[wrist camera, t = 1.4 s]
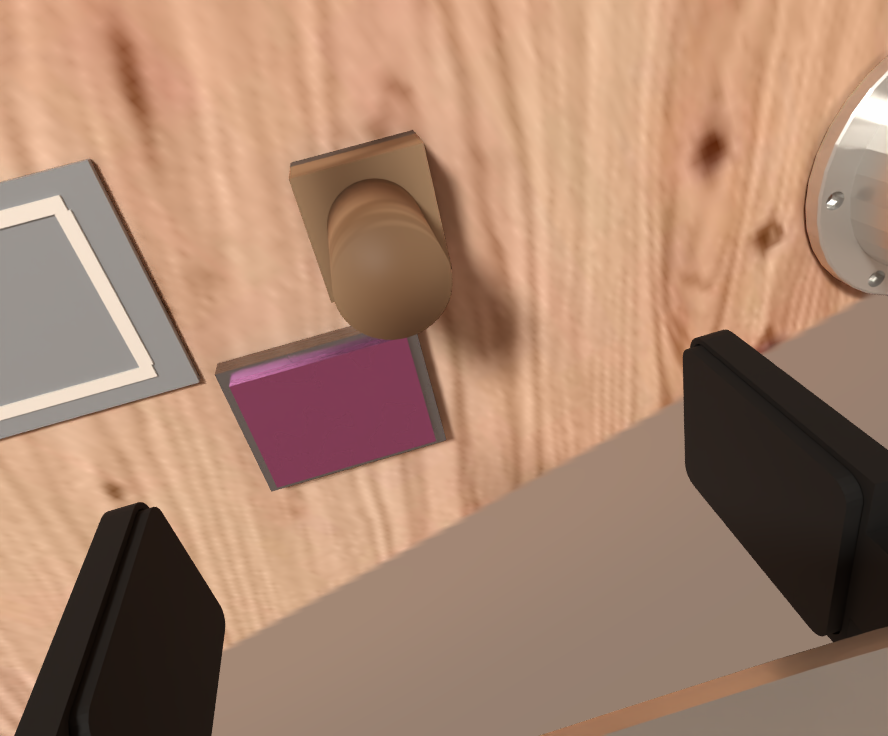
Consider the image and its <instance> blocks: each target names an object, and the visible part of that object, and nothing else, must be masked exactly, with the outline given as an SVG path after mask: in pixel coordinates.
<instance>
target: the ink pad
mask: <svg viewBox="0 0 888 736" xmlns="http://www.w3.org/2000/svg"><path fill="white" fill-rule="evenodd" d="M215 376H216V378H217V380H218V382H219V384H220V387H221V389H222V391H223V393H224V395H225V397H226V399H227V401H228V403H229V405H230V407H231V409H232V411H233V413H234V415H235V417H236V420H237V422H238V424H239V426H240V428H241V430H242V432H243V434H244V436H245V438H246V440H247V442H248V444H249V446H250V448H251V450H252V452H253V455H254V457H255V459H256V461H257V463H258V465H259V467H260V469H261V471H262V473H263V475H264V477H265V479H266V481H267V483H268V485H269V488H270V490H271V492H272V491H275V490H278V489H282V488H285V487H289V486H292V485H295V484H299V483H302V482H306V481H309V480H312V479H316V478H319V477H323V476H326V475H329V474H333V473H336V472H340V471H343V470H346V469H350V468H353V467H357V466H360V465H363V464H367V463H370V462H374V461H377V460H381V459H384V458H387V457H391V456H394V455H398V454H401V453H404V452H408V451H411V450H415V449H418V448H421V447H425V446H428V445H432V444H435V443H438V442H442V441H445V440H446V437H445V434H444V430H443V426H442V423H441V419H440V416H439V412H438V408H437V405H436V401H435V397H434V394H433V390H432V386H431V383H430V379H429V375H428V372H427V368H426V364H425V361H424V357H423V353H422V350H421V346H420V342H419V339H418V335H417V334H416V335H413V336H411V337H408V338H403V339H396V340H384V339H377V338H373V337H370V336H367V335H365V334H363V333H361V332H359V331H357V330H356V329H355V328H353V327H352V326H350V327H346V328H343V329H339V330H335V331H332V332H328V333H325V334H321V335H318V336H314V337H311V338H307V339H304V340H300V341H297V342H293V343H289V344H286V345H282V346H279V347H275V348H272V349H268V350H265V351H261V352H258V353H254V354H250V355H247V356H243V357H240V358H236V359H233V360H229V361H226V362H222V363H219V364H217V368H216V372H215Z"/></svg>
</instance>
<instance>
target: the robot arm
mask: <svg viewBox="0 0 888 736" xmlns="http://www.w3.org/2000/svg"><path fill="white" fill-rule="evenodd" d="M805 209H806V227H807V232H808V236H809V240H810V243H811V247H812V250H813V251H814V253H815V255H816V256H817V258H818V260H819V262H820V263H821V265H822V266H823V267H824V268H825V269H826V270H827V271H828V272H829V273H830V274H831V275H832V276H833V277H835V278H837V279H838V280H840V281H842V282H844V283H846V284H847V285H849V286H851V287H853V288H855V289H858V290H860V291H863V292H865V293H869V294H877V295H887V296H888V56H887V57H885V58H884V59H883V60H882V61H881V62H880V63H879V64H878V65H877V66H876V67H875V68H874V69H873V70H871V71H870V72H869V73H868V74H867V75H866V77H865V78H864V79H863V80H862V81H861V83H860V84H859V85H858V86H857V87H856V89H855V90H854V91H853V92H852V94H851V95H850V96H849V97H848V98H847V100H846V101H845V103H844V104H843V106H842V107H841V109H840V111H839V112H838V114H837V115H836V117H835V119H834V120H833V122H832V123H831V125H830V126H829V129H828V131H827V133H826V135H825V137H824V139H823V142H822V144H821V146H820V148H819V150H818V152H817V155H816V158H815V161H814V165H813V168H812V172H811V175H810V178H809V182H808V190H807V198H806V205H805ZM683 389H684V433H685V466H686V471H687V474H688V477H689V478H690V481H691V482H692V484H693V485H694V486H695V488H696V489H697V490H698V491H699V492H700V494H701V495H702V496H703V497H704V499H705V500H706V501H707V502H708V504H709V505H710V506H711V507H712V509H713V510H714V511H715V512H716V513H717V514H718V516H719V517H720V518H721V519H722V520H723V522H724V523H725V524H726V526H727V527H728V528H729V529H730V531H731V532H732V533H733V534H734V535H735V537H736V538H737V539H738V540H739V542H740V543H741V544H742V545H743V547H744V548H745V549H746V550H747V551H748V553H749V554H750V555H751V556H752V558H753V559H754V560H755V561H756V562H757V564H758V565H759V566H760V567H761V569H762V570H763V571H764V572H765V573H766V575H767V576H768V577H769V578H770V580H771V581H772V582H773V583H774V584H775V586H776V587H777V588H778V589H779V591H780V592H781V593H782V594H783V595H784V597H785V598H786V599H787V600H788V602H789V603H790V604H791V605H792V607H793V608H794V609H795V610H796V612H797V613H798V614H799V615H800V616H801V618H802V619H803V620H804V621H805V623H806V624H807V625H808V626H809V627H810V628H811V629H812V631H813V632H815V633H816V634H817V635H819V636H825V635H827V636H828V637H829V638H830V639H831V640H832V641H833V643H830V644H826V645H823V646H820V647H817V648H813V649H810V650H806V651H803V652H800V653H796V654H793V655H790V656H786V657H783V658H780V659H777V660H774V661H770V662H767V663H764V664H761V665H758V666H754V667H751V668H748V669H745V670H742V671H739V672H736V673H733V674H729V675H727V676H723V677H720V678H717V679H714V680H711V681H707V682H705V683H701V684H698V685H695V686H692V687H689V688H686V689H683V690H680V691H676V692H673V693H670V694H667V695H664V696H661V697H657V698H654V699H651V700H648V701H645V702H642V703H639V704H635V705H632V706H629V707H626V708H623V709H620V710H617V711H614V712H611V713H608V714H604V715H601V716H598V717H595V718H592V719H589V720H586V721H583V722H580V723H577V724H574V725H571V726H568V727H564V728H561V729H558V730H555V731H552V732H549V733H546V734H543V735H540V736H888V450H887V449H886V448H884V447H883V446H882V445H880V444H879V443H878V442H876V441H875V440H874V439H872V438H871V437H870V436H868V435H867V434H866V433H865V432H863V431H862V430H861V429H859V428H858V427H857V426H855V425H854V424H853V423H851V422H850V421H849V420H847V419H846V418H845V417H843V416H842V415H841V414H840V413H838V412H837V411H835V410H834V409H833V408H832V407H830V406H829V405H828V404H826V403H825V402H824V401H822V400H821V399H819V398H818V397H817V396H816V395H814V394H813V393H812V392H810V391H809V390H808V389H806V388H805V387H804V386H803V385H801V384H800V383H799V382H797V381H796V380H794V379H793V378H792V377H791V376H789V375H788V374H786V373H785V372H784V371H783V370H781V369H780V368H778V367H777V366H776V365H775V364H773V363H772V362H771V361H769V360H768V359H767V358H766V357H764V356H763V355H762V354H760V353H759V352H758V351H756V350H755V349H754V348H752V347H751V346H750V345H748V344H747V343H746V342H744V341H743V340H742V339H740V338H739V337H738V336H736V335H735V334H734V333H732V332H731V331H729V330H721V331H718V332H714V333H711V334H708V335H704V336H701V337H697V338H695V339H693V340H692V342H691V346H690V348H689V349H686V350H685V351H684V353H683ZM224 634H225V618H224V614H223V610H222V608H221V606H220V604H219V603H218V601H217V600H216V598H215V596H214V595H213V593H212V592H211V590H210V588H209V587H208V585H207V584H206V582H205V580H204V579H203V577H202V576H201V574H200V572H199V571H198V569H197V568H196V566H195V564H194V563H193V561H192V560H191V558H190V556H189V555H188V553H187V552H186V550H185V548H184V547H183V545H182V544H181V542H180V540H179V539H178V537H177V536H176V534H175V532H174V531H173V529H172V528H171V526H170V524H169V523H168V521H167V519H166V518H165V516H164V515H163V513H162V512H161V510H160V509H159V508H157V507H152V508H149V507H148V506H147V505H146V504H145V503H143V502H138V503H135V504H132V505H128V506H125V507H121V508H118V509H115V510H111V511H108V512H106V513H105V514H104V515H103V516H102V518H101V520H100V523H99V525H98V528H97V530H96V533H95V535H94V538H93V540H92V543H91V545H90V548H89V550H88V553H87V555H86V558H85V560H84V563H83V565H82V568H81V570H80V573H79V575H78V578H77V580H76V583H75V585H74V588H73V590H72V593H71V595H70V598H69V600H68V603H67V605H66V608H65V610H64V613H63V615H62V618H61V620H60V623H59V625H58V628H57V630H56V633H55V635H54V638H53V640H52V643H51V645H50V648H49V650H48V653H47V655H46V658H45V660H44V663H43V665H42V668H41V670H40V673H39V675H38V678H37V680H36V683H35V685H34V688H33V690H32V693H31V695H30V698H29V700H28V703H27V705H26V708H25V710H24V713H23V715H22V718H21V720H20V723H19V725H18V728H17V730H16V733H15V735H14V736H211V734H212V727H213V719H214V711H215V703H216V694H217V688H218V680H219V672H220V665H221V657H222V649H223V641H224Z"/></svg>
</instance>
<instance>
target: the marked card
mask: <svg viewBox="0 0 888 736" xmlns="http://www.w3.org/2000/svg"><path fill="white" fill-rule="evenodd" d="M199 382H200V377H199V375H198V373H197V371H196V369H195V367H194V365H193V363H192V361H191V359H190V357H189V355H188V353H187V351H186V349H185V347H184V345H183V343H182V341H181V339H180V337H179V335H178V333H177V331H176V329H175V327H174V325H173V323H172V321H171V319H170V317H169V315H168V313H167V311H166V309H165V307H164V305H163V303H162V301H161V299H160V297H159V295H158V293H157V291H156V289H155V287H154V285H153V283H152V281H151V279H150V277H149V275H148V273H147V271H146V269H145V267H144V265H143V263H142V261H141V260H140V258H139V256H138V254H137V252H136V250H135V248H134V246H133V244H132V242H131V240H130V238H129V236H128V234H127V232H126V230H125V228H124V226H123V224H122V222H121V220H120V218H119V216H118V214H117V212H116V210H115V208H114V206H113V204H112V202H111V200H110V198H109V196H108V194H107V192H106V190H105V188H104V186H103V184H102V182H101V180H100V178H99V176H98V174H97V172H96V170H95V168H94V166H93V164H92V162H91V160H90V159H87V160H83V161H79V162H75V163H71V164H68V165H64V166H60V167H56V168H52V169H49V170H45V171H41V172H37V173H33V174H30V175H26V176H22V177H18V178H15V179H11V180H7V181H3V182H0V439H2V438H5V437H9V436H12V435H16V434H19V433H23V432H26V431H30V430H33V429H37V428H40V427H44V426H47V425H51V424H54V423H58V422H62V421H65V420H69V419H72V418H76V417H79V416H83V415H86V414H90V413H93V412H97V411H100V410H104V409H107V408H111V407H114V406H118V405H121V404H125V403H129V402H132V401H136V400H139V399H143V398H146V397H150V396H153V395H157V394H160V393H164V392H167V391H171V390H174V389H178V388H181V387H185V386H188V385H192V384H196V383H199Z"/></svg>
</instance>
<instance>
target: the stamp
mask: <svg viewBox="0 0 888 736" xmlns="http://www.w3.org/2000/svg"><path fill="white" fill-rule="evenodd" d="M289 181H290V184H291V187H292V190H293V193H294V195H295V198H296V201H297V204H298V207H299V210H300V213H301V216H302V219H303V222H304V224H305V227H306V230H307V233H308V236H309V239H310V242H311V245H312V248H313V251H314V253H315V256H316V259H317V262H318V265H319V268H320V271H321V274H322V277H323V279H324V282H325V285H326V288H327V291H328V294H329V297H330V300H331V303H332V302H335V304H336V306H337V309H338V310H339V312H340V314H341V315H342V317H343V318H344V319H345V320H346V322H348V323H349V324H350V325H351V326H352V327H353V328H355V329H356V330H357V331H359V332H361V333H363V334H365V335H367V336H370V337H373V338H377V339H384V340H396V339H403V338H408V337H411V336H413V335H416V334H418V333H420V332H422V331H424V330H425V329H427V328H428V327H429V326H431V325H432V324H433V323H434V322H435V321H436V320H437V319H438V318H439V317H440V315H441V314H442V313H443V311H444V310H445V308H446V306H447V304H448V301H449V299H450V295H451V292H452V272H451V269H452V266H451V262H450V257H449V253H448V249H447V244H446V240H445V235H444V231H443V227H442V222H441V218H440V213H439V209H438V205H437V200H436V196H435V191H434V187H433V183H432V178H431V174H430V169H429V165H428V160H427V156H426V152H425V147H424V143H423V142H422V140H421V139H420V138H419V137H418V136H417V135H416V133H415V132H414V131H413V130H411V131H408V132H404V133H400V134H396V135H393V136H389V137H385V138H382V139H378V140H374V141H370V142H367V143H363V144H359V145H355V146H352V147H348V148H344V149H341V150H337V151H333V152H329V153H326V154H322V155H318V156H314V157H311V158H307V159H303V160H300V161H296V162H292V163H291V165H290V174H289Z"/></svg>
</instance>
